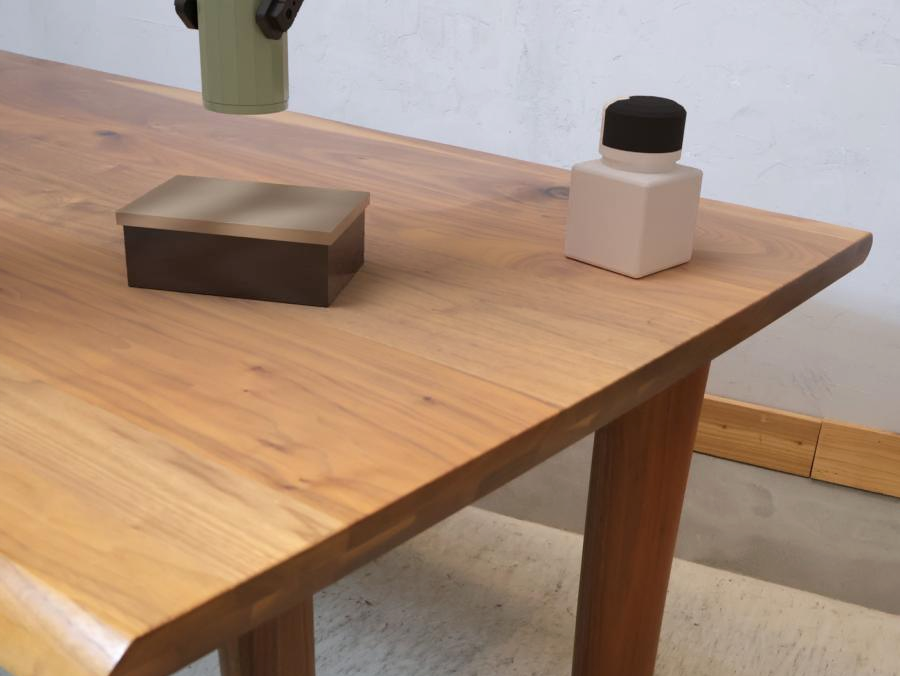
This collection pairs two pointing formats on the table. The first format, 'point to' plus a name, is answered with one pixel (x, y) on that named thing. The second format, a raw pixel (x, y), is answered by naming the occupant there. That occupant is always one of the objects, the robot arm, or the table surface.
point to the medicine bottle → (635, 191)
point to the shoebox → (245, 239)
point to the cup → (240, 60)
